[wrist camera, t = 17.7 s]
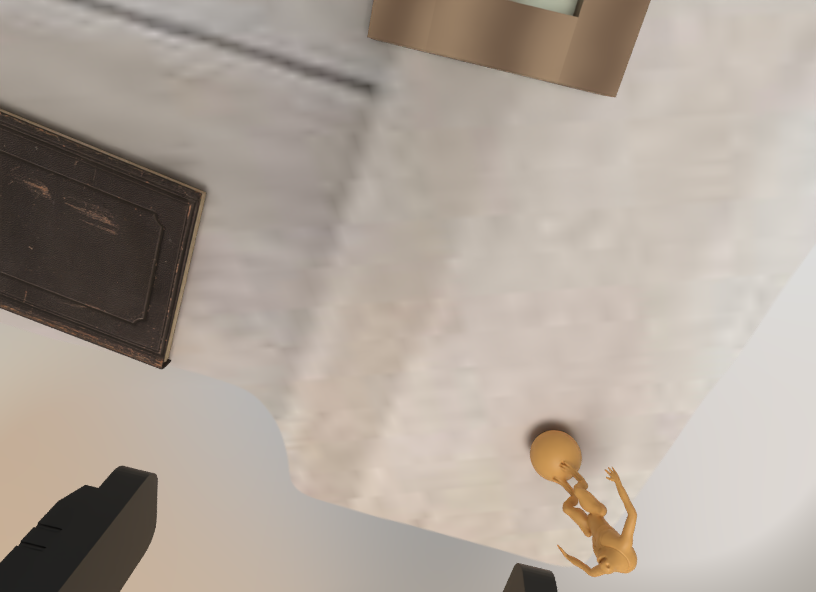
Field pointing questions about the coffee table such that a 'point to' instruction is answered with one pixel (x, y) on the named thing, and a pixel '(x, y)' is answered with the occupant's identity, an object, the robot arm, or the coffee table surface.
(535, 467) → the figurine
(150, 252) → the hardcover book
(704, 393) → the coffee table surface
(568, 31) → the walnut plate
